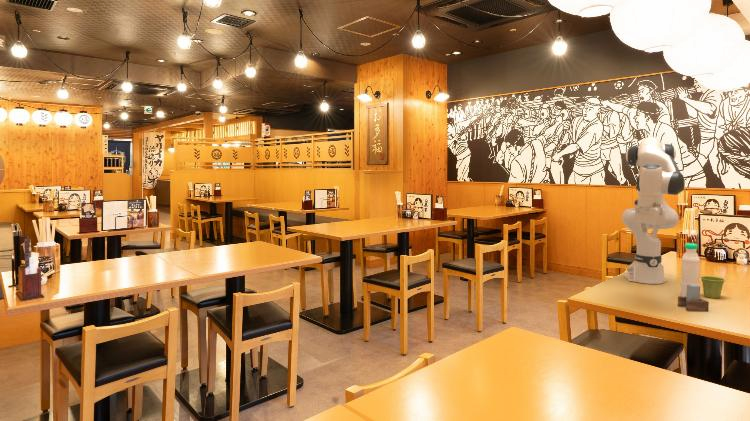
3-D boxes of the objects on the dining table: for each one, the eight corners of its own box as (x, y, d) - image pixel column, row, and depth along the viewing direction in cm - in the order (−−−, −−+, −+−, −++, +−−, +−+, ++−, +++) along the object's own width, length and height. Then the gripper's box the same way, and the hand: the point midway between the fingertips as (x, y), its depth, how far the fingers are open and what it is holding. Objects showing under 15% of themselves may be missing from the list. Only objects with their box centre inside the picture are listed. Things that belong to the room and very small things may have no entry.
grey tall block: (685, 307, 205) (686, 284, 204) (694, 307, 204) (695, 284, 204) (690, 309, 201) (691, 286, 200) (699, 309, 201) (700, 286, 200)
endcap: (677, 305, 207) (678, 296, 207) (697, 305, 206) (697, 296, 206) (688, 311, 199) (688, 301, 199) (708, 311, 198) (708, 301, 198)
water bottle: (701, 299, 216) (703, 245, 214) (684, 299, 217) (686, 244, 215) (694, 295, 223) (696, 242, 220) (677, 295, 224) (679, 242, 222)
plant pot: (720, 294, 224) (721, 276, 223) (727, 300, 215) (728, 281, 214) (697, 293, 227) (697, 275, 226) (703, 298, 218) (704, 279, 217)
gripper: (670, 204, 196) (669, 237, 197) (646, 200, 216) (645, 231, 217) (654, 204, 197) (652, 237, 198) (632, 200, 217) (631, 231, 218)
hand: (649, 234), depth 208 cm, fingers open, 8 cm apart
